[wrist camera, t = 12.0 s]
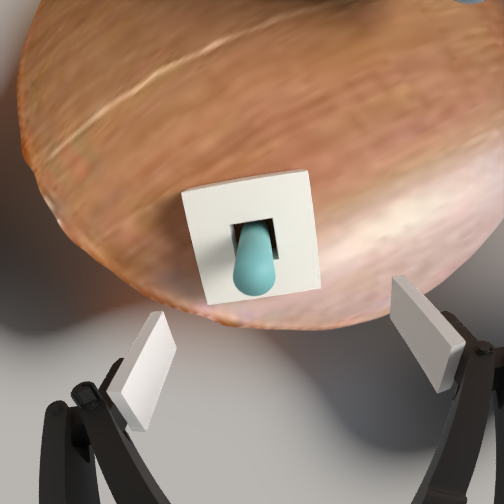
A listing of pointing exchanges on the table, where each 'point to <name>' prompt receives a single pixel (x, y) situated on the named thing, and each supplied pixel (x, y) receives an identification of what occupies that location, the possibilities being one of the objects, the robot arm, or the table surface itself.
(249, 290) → the peg
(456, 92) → the table surface
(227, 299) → the socket board
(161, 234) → the table surface
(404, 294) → the robot arm
